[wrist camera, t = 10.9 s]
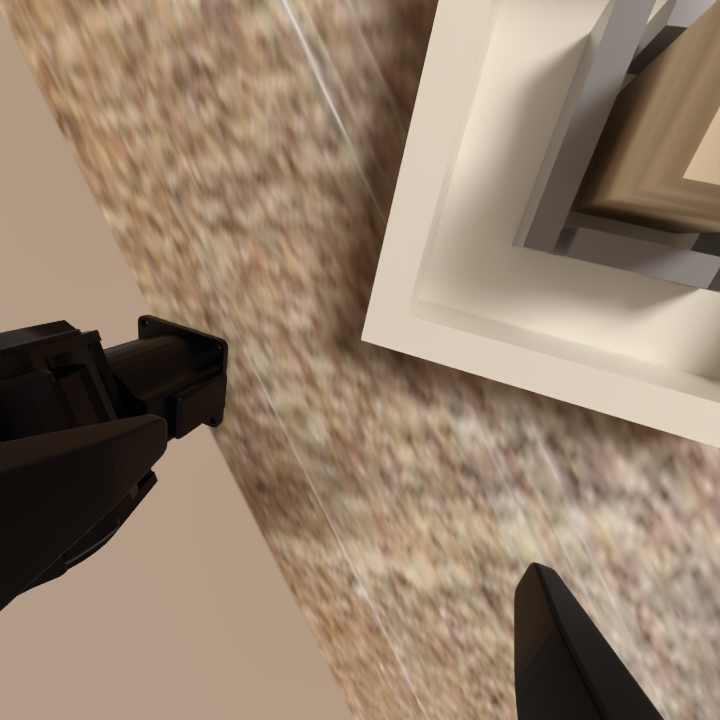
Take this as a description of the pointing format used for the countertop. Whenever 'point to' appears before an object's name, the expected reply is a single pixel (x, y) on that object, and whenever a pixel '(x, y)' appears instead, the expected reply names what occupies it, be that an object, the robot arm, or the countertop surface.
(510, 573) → the countertop surface
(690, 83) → the wooden block
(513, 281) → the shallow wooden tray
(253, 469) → the countertop surface
